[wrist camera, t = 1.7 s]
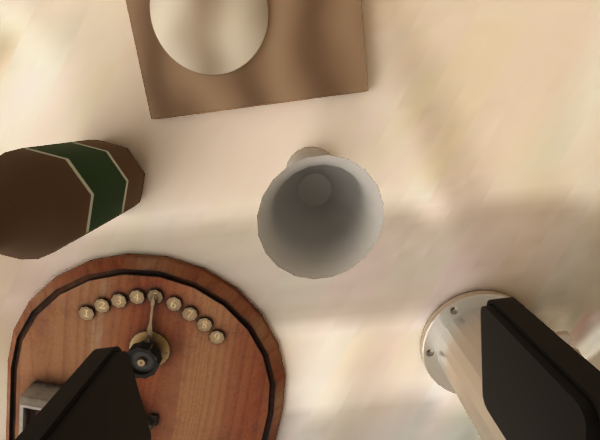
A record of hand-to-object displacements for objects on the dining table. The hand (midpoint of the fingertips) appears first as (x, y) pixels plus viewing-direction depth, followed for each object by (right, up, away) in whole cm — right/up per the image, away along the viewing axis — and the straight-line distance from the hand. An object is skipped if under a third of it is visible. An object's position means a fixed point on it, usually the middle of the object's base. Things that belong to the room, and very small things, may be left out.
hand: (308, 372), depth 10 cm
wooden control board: (-17, -14, +36) cm, 42 cm away
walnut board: (-5, +22, +26) cm, 34 cm away
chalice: (+1, +9, +29) cm, 31 cm away
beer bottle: (-19, +8, +29) cm, 36 cm away
